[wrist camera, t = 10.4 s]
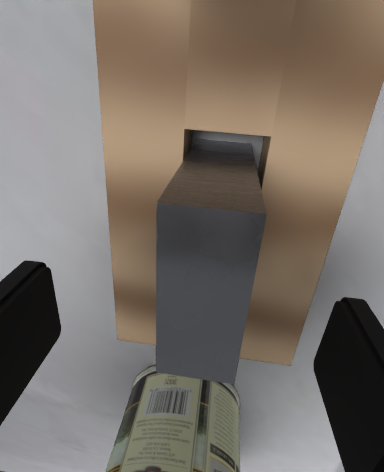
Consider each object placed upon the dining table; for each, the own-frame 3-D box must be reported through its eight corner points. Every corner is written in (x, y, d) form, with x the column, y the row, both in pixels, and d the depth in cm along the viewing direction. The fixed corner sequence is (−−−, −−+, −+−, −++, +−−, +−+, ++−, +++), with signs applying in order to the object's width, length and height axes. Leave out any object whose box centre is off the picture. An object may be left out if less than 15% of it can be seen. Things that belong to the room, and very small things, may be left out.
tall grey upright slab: (234, 250, 20) (233, 384, 11) (190, 245, 20) (155, 372, 11) (250, 143, 17) (267, 214, 8) (197, 139, 17) (156, 202, 8)
